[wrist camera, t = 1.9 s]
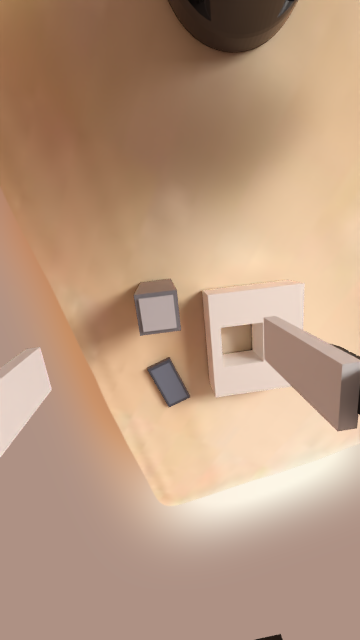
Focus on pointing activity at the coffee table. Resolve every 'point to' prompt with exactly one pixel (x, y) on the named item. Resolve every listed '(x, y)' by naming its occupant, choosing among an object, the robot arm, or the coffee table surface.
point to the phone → (168, 382)
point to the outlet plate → (251, 308)
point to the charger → (157, 307)
